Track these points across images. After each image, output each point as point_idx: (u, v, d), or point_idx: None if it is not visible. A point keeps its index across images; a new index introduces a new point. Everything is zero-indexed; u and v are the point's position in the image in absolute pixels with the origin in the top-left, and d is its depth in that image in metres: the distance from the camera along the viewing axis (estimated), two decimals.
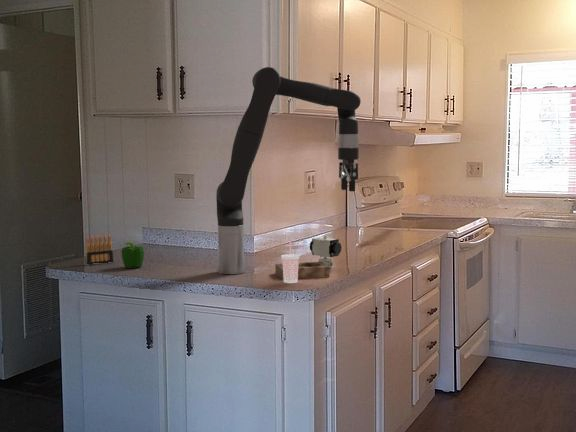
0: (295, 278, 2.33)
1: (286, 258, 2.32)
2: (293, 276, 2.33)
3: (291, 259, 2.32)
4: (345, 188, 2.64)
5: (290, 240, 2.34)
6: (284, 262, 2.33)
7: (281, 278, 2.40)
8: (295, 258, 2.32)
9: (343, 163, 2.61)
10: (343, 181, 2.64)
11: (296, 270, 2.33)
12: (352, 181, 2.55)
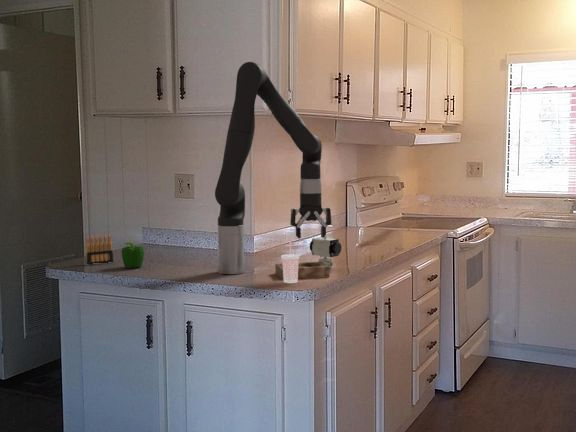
0: (295, 278, 2.33)
1: (286, 258, 2.32)
2: (293, 276, 2.33)
3: (290, 259, 2.32)
4: None
5: (290, 240, 2.34)
6: (284, 262, 2.33)
7: (281, 278, 2.40)
8: (295, 258, 2.32)
9: (305, 209, 2.44)
10: None
11: (296, 270, 2.33)
12: None
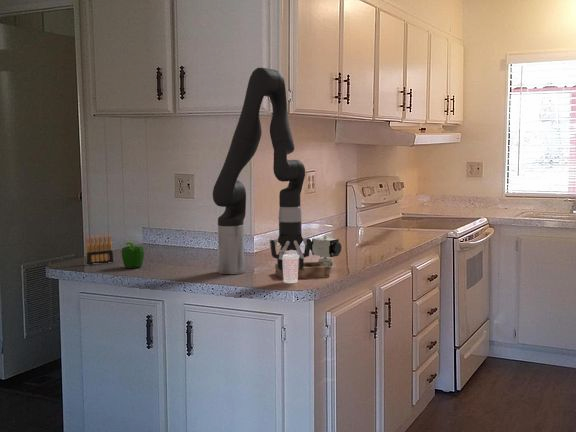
0: (295, 278, 2.33)
1: (286, 258, 2.32)
2: (293, 276, 2.33)
3: (290, 259, 2.32)
4: None
5: None
6: (284, 262, 2.33)
7: (281, 278, 2.40)
8: (295, 258, 2.32)
9: (284, 238, 2.32)
10: None
11: (296, 270, 2.33)
12: None
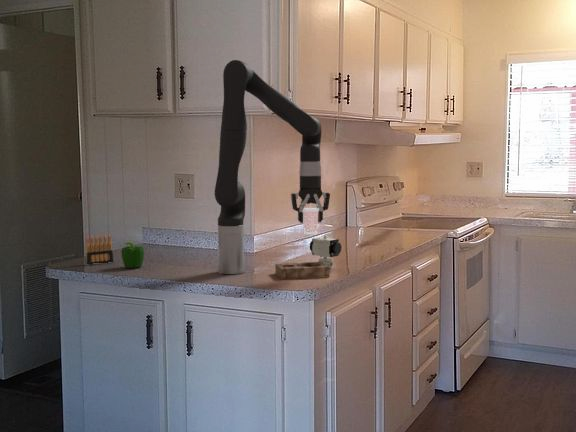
0: (315, 230, 2.45)
1: (306, 211, 2.43)
2: (313, 228, 2.44)
3: (311, 211, 2.43)
4: None
5: None
6: (304, 215, 2.44)
7: (281, 278, 2.40)
8: (315, 211, 2.43)
9: (304, 192, 2.44)
10: None
11: (316, 222, 2.45)
12: None
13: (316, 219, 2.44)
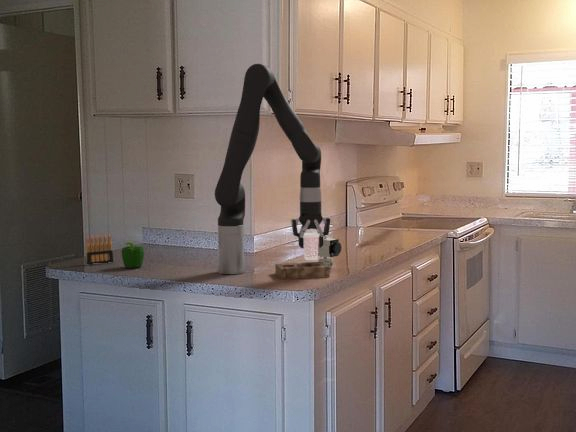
0: (315, 255, 2.46)
1: (307, 236, 2.44)
2: (314, 253, 2.45)
3: (311, 237, 2.44)
4: None
5: None
6: (305, 240, 2.45)
7: (281, 278, 2.40)
8: (315, 236, 2.44)
9: (305, 217, 2.44)
10: None
11: (316, 248, 2.45)
12: None
13: (317, 244, 2.45)
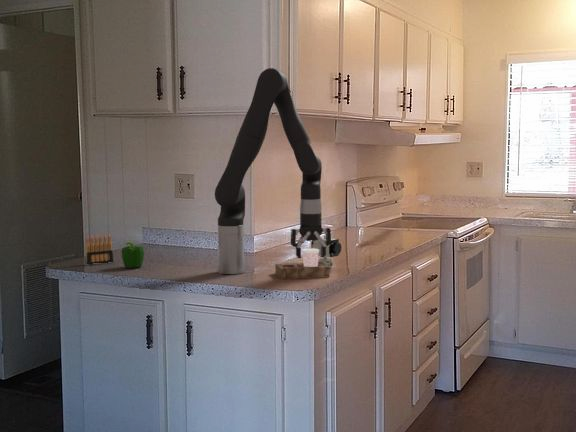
0: None
1: (307, 252, 2.45)
2: None
3: (311, 253, 2.44)
4: None
5: None
6: (305, 256, 2.46)
7: (281, 278, 2.40)
8: (315, 252, 2.45)
9: (305, 230, 2.45)
10: None
11: (316, 263, 2.46)
12: None
13: (316, 260, 2.46)
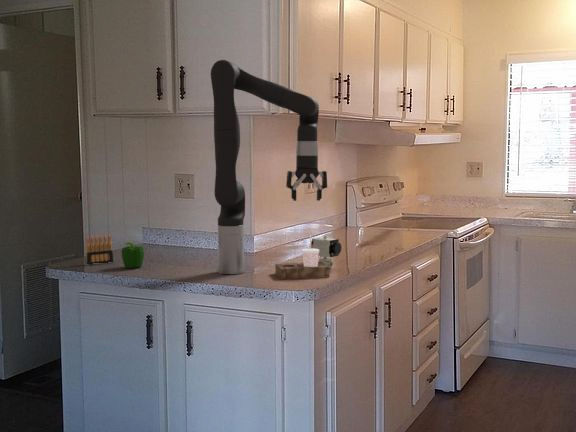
0: None
1: (307, 252, 2.45)
2: None
3: (311, 253, 2.44)
4: None
5: (310, 235, 2.47)
6: (305, 256, 2.46)
7: (281, 278, 2.40)
8: (315, 252, 2.45)
9: (301, 172, 2.44)
10: None
11: (316, 263, 2.46)
12: None
13: (316, 260, 2.46)
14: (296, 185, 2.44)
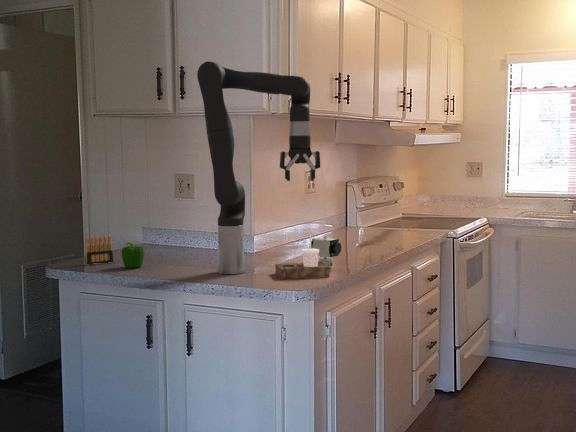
0: None
1: (307, 252, 2.45)
2: None
3: (311, 253, 2.44)
4: None
5: (310, 235, 2.47)
6: (305, 256, 2.46)
7: (281, 278, 2.40)
8: (315, 252, 2.45)
9: (294, 152, 2.45)
10: None
11: (316, 263, 2.46)
12: None
13: (316, 260, 2.46)
14: (289, 165, 2.45)
